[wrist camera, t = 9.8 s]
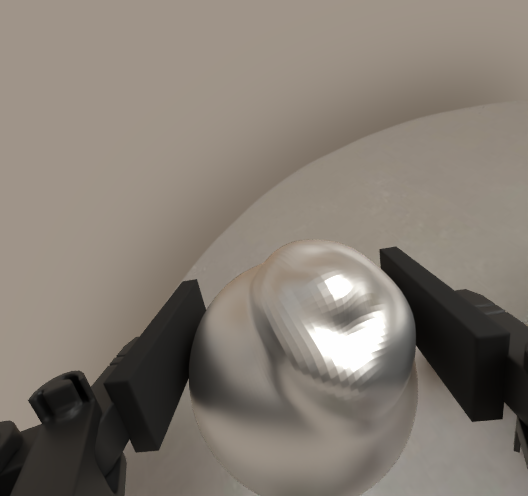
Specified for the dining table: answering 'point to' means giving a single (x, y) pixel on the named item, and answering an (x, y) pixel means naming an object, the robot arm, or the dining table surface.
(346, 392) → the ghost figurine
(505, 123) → the dining table surface
